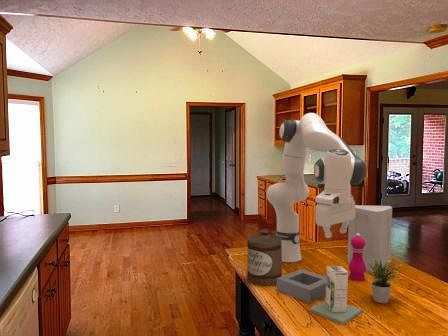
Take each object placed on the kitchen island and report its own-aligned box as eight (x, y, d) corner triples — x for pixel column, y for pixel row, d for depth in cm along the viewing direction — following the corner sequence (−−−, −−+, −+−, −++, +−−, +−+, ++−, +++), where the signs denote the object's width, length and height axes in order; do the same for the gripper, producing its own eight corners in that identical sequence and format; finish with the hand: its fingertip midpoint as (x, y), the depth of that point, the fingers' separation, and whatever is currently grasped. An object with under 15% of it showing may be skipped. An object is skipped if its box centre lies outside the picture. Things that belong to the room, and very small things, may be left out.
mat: (309, 311, 132) (309, 308, 132) (329, 300, 140) (329, 298, 140) (342, 324, 122) (342, 321, 122) (362, 312, 131) (362, 309, 131)
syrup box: (324, 305, 134) (325, 265, 133) (340, 304, 135) (341, 265, 133) (330, 312, 128) (331, 271, 127) (347, 312, 129) (348, 270, 128)
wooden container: (240, 280, 161) (240, 229, 160) (261, 271, 172) (261, 223, 171) (268, 289, 151) (268, 235, 150) (288, 279, 162) (289, 229, 161)
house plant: (399, 313, 130) (401, 267, 129) (358, 304, 137) (359, 260, 136) (404, 298, 142) (406, 256, 141) (366, 291, 149) (367, 250, 148)
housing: (276, 290, 150) (276, 278, 150) (300, 280, 161) (300, 269, 160) (310, 303, 138) (310, 290, 138) (333, 291, 149) (334, 279, 148)
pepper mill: (367, 282, 159) (368, 235, 157) (349, 280, 160) (350, 234, 158) (364, 276, 166) (365, 231, 164) (347, 274, 167) (348, 230, 166)
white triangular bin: (354, 271, 172) (355, 210, 169) (347, 261, 186) (348, 205, 184) (397, 273, 169) (399, 211, 167) (387, 262, 184) (389, 206, 182)
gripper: (345, 192, 139) (343, 228, 141) (312, 198, 126) (311, 238, 127) (360, 194, 135) (359, 231, 136) (328, 200, 121) (327, 242, 122)
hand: (335, 235), depth 131 cm, fingers open, 8 cm apart
